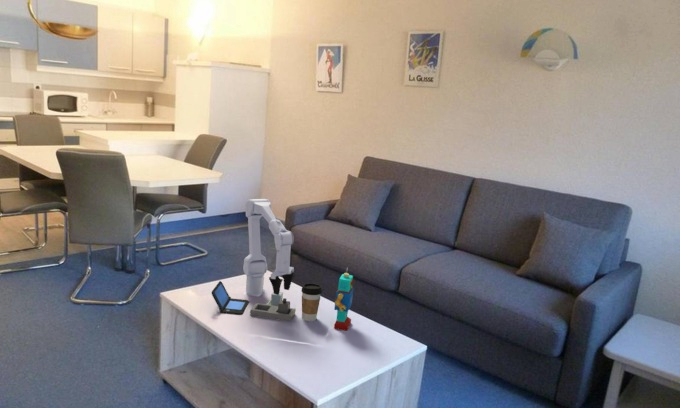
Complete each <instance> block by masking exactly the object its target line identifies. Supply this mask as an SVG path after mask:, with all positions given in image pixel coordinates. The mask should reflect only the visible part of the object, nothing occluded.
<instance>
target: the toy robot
mask: <svg viewBox="0 0 680 408" xmlns="http://www.w3.org/2000/svg"><path fill="white" fill-rule="evenodd" d="M348 269H349V268H348V267H346V270H345V272H344V273H342V274H341V276H340V277H339V280H338V287H337V290H336V292H335V298H334V311H336V320H335V323H334V325H333V329H336V330H340V331H341V330H342V331H346V332H347V331H348V330H349V327H350V325H351V322H352V318H351V317H348V314H349V310H350V308H351V307H352V303H353V295H354V287H353V283H354V275H351V274H349V273H348Z"/></svg>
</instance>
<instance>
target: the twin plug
mask: <svg viewBox="0 0 680 408" xmlns="http://www.w3.org/2000/svg"><path fill="white" fill-rule="evenodd" d="M290 308H291V301H290V300H289V301H288V300H287V298H285V297H284V298H282V300H281V301H280V302H279V304H278V313H283V314H289V312H290Z"/></svg>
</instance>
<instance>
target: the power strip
mask: <svg viewBox="0 0 680 408" xmlns="http://www.w3.org/2000/svg"><path fill="white" fill-rule="evenodd" d="M295 314H296V308H295V307H294V308H293V307H290V312H289V314H283V313H278V306H274V305H268V304H267V303H259V302H256V303H255V304H254V305H252V308H250V312H249V316H252V317H257V318H258V317H259V318H264V319H273V320H278V321H284V322H292V320H293V318H294V316H295Z"/></svg>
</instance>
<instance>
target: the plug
mask: <svg viewBox="0 0 680 408" xmlns="http://www.w3.org/2000/svg"><path fill="white" fill-rule="evenodd" d="M283 294H284V292H282V291H280V292H279V294H278V295H277V294H274V291H272V293H271V296H270V297H271V299H270V300H271V305H274V306H278V304H279V302H280V301H281V300H283V297H284V296H283Z"/></svg>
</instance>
